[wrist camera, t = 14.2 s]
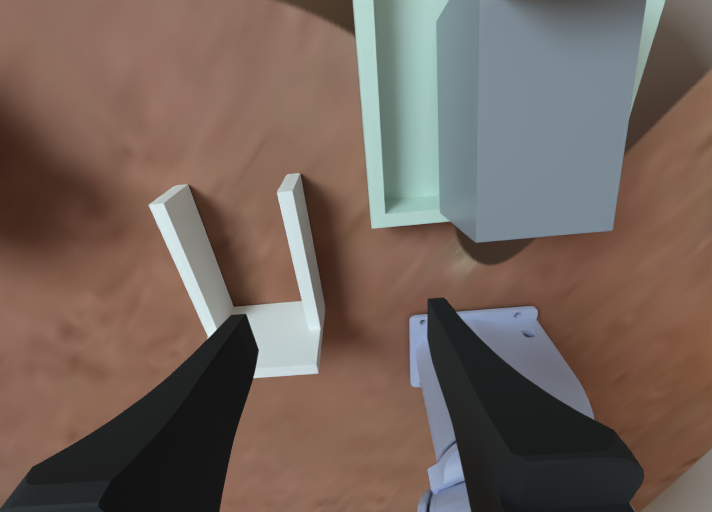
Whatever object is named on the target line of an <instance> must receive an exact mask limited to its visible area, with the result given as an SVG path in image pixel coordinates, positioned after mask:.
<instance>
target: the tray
mask: <svg viewBox="0 0 712 512" xmlns="http://www.w3.org/2000/svg"><path fill="white" fill-rule="evenodd" d="M448 1H449V0H353V11H354V23H355V35H356V47H357V60H358V72H359V84H360V96H361V109H362V121H363V133H364V145H365V158H366V170H367V182H368V195H369V207H370V217H371V226H372V228H383V227H394V226H405V225H416V224H427V223H438V222H449V220H448V219H447V218H446V217H444V216H443V215H442V214H441V213H440V199H439V145H438V90H437V36H436V21H437V19H438V18H439V16H440V14H441V13H442V11H443V9H444V8H445V6H446V4H447V3H448ZM664 3H665V0H646V7H645V13H644V20H643V27H642V34H641V41H640V47H639V54H638V61H637V68H636V75H635V81H634V88H633V95H632V102H631V109H630V113H631V110H632V107H633V104H634V100H635V97H636V94H637V90H638V87H639V84H640V81H641V78H642V75H643V71H644V68H645V65H646V62H647V58H648V55H649V52H650V49H651V45H652V42H653V38H654V36H655V32H656V29H657V26H658V23H659V19H660V16H661V13H662V10H663V6H664ZM629 117H630V115H629Z"/></svg>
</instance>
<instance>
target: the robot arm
mask: <svg viewBox="0 0 712 512" xmlns="http://www.w3.org/2000/svg"><path fill="white" fill-rule="evenodd" d="M516 313H517V314H516ZM537 316H538V311H537V309H536V308H535V307H534V306H523V307H511V308H498V309H485V310H473V311H460V312H456V311H455V310H454V309H453V308H452V306H451V305H450V304H449V303H448V301H447V300H446V299H445V298H433V299H428V313H427V314H422V315H414V316H412V317H410V319H409V340H410V382H411V385H412V386H413V387H422V392H423V397H424V402H425V406H426V411H427V416H428V421H429V426H430V431H431V435H432V440H433V445H434V450H435V455H436V460H437V464H435V465H434V466H432V467H430V468H428V475H429V480H430V486H431V489H428V490H426V491H425V492H424V493H423V494H422V496H421V498H420V500H419V504H418V509H417V512H636V511H635V510H634V508H633V507H632V505H631V504H630V500H631V499H632V497H633V496H634V494H635V493H636V492H637V490H638V489H639V487H640V486H641V484H642V481H643V479H644V471H643V468H642V467H641V465H640V464H639V462H638V461H637V460H636V458H635V457H634V455H633V454H632V452H631V451H630V450H629V448H628V447H627V446H626V444H625V443H624V442H623V441H622V440H621V438H620V437H619V436H618V435H617V433H616V432H615V431H614V430H612V429H611V428H609V427H607V426H605V425H603V424H601V423H599V422H597V421H595V419H594V415H593V411H592V408H591V405H590V403H589V400H588V398H587V395H586V393H585V391H584V389H583V387H582V385H581V383H580V382H579V380H578V379H577V377H576V376H575V374H574V373H573V371H572V370H571V368H570V367H569V366H568V364H567V363H566V361H565V360H564V358H563V357H562V355H561V354H560V353H559V351H558V350H557V348H556V347H555V345H554V344H553V343H552V341H551V340H550V338H549V337H548V335H547V334H546V332H545V331H544V330H543V328H542V327H541V325H540V324H539V322H538V321H537ZM421 320H425V321H423V322H421ZM258 353H259V349H258V346H257V343H256V340H255V337H254V335H253V332H252V329H251V326H250V323H249V320H248V318H247V315H246V314H236V315H231V316H230V317H229V318H227V319H226V320H225V321H224V323H223V324H222V325H221V326H220V327H219V328H218V329H217V330H216V331H215V332H214V333H213V334H212V335H211V336H210V337H209V338H208V339H207V340H206V341H205V342H204V343H203V344H202V345H201V346H200V347H199V348H198V349H197V350H196V351H195V352H194V353H193V354H192V355H191V356H190V357H189V358H188V359H187V360H186V361H185V362H184V363H183V364H182V365H181V366H179V367H178V368H177V369H176V370H175V371H174V372H173V373H172V374H171V375H170V376H169V377H167V378H166V379H165V380H164V381H163V382H162V383H160V384H159V385H158V386H157V387H155V388H154V389H153V390H152V391H151V392H149V393H148V394H147V395H145V396H144V397H143V398H142V399H140V400H139V401H137V402H136V403H135V404H133V405H132V406H131V407H129V408H128V409H126V410H125V411H124V412H122V413H121V414H119V415H118V416H117V417H115V418H114V419H112V420H111V421H109V422H108V423H106V424H105V425H103V426H102V427H100V428H99V429H97V430H95V431H94V432H92V433H91V434H89V435H87V436H86V437H84V438H83V439H81V440H79V441H78V442H76V443H74V444H73V445H71V446H69V447H67V448H66V449H64V450H62V451H60V452H59V453H57V454H55V455H53V456H52V457H50V458H48V459H46V460H44V461H43V462H41V463H39V464H37V465H35V466H33V467H32V468H31V470H30V471H29V472H28V473H27V475H26V476H25V477H24V479H23V480H22V481H21V482H20V484H19V485H18V486H17V488H16V489H15V490H14V491H13V493H12V494H11V495H10V497H9V498H8V499H7V500H6V502H5V503H4V504H3V506H2V507H1V508H0V512H219V510H220V504H221V498H222V493H223V488H224V483H225V478H226V473H227V468H228V463H229V458H230V454H231V449H232V445H233V441H234V437H235V433H236V430H237V427H238V424H239V421H240V417H241V414H242V411H243V408H244V405H245V402H246V399H247V396H248V393H249V390H250V387H251V384H252V381H253V377H254V374H255V369H256V364H257V358H258Z"/></svg>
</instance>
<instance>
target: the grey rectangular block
mask: <svg viewBox="0 0 712 512" xmlns="http://www.w3.org/2000/svg"><path fill="white" fill-rule="evenodd" d="M645 7H646V0H449V1H448V3H447V4H446V6H445V8H444V9H443V11H442V13H441V14H440V16H439V18H438V19H437V21H436V36H437V90H438V145H439V199H440V213H441V214H442V215H443V216H444V217H446V218H447V219H448V220H449V221H450V222H452V223H453V224H454V225H455V226H456V227H458V228H459V229H460V230H461V231H462V232H464V233H465V234H466V235H467V236H469V237H470V238H471V239H472V240H473V241H475V242H488V241H500V240H510V239H523V238H534V237H545V236H557V235H568V234H580V233H591V232H602V231H613V224H614V217H615V211H616V204H617V197H618V190H619V183H620V177H621V170H622V163H623V156H624V149H625V143H626V135H627V129H628V122H629V115H630V109H631V102H632V95H633V88H634V81H635V75H636V68H637V61H638V54H639V47H640V41H641V34H642V27H643V20H644V13H645Z"/></svg>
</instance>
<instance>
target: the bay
mask: <svg viewBox="0 0 712 512" xmlns="http://www.w3.org/2000/svg"><path fill="white" fill-rule="evenodd" d="M277 195H278V199H279V203H280V208H281V212H282V216H283V221H284V225H285V229H286V234H287V238H288V242H289V247H290V251H291V255H292V260H293V264H294V268H295V273H296V277H297V281H298V286H299V290H300V294H301V299H302V301H298V302H285V303H273V304H261V305H249V306H237V307H234V306H233V304H232V301H231V298H230V296H229V293H228V290H227V288H226V285H225V282H224V280H223V277H222V274H221V272H220V269H219V266H218V264H217V261H216V258H215V255H214V253H213V250H212V247H211V245H210V242H209V239H208V237H207V234H206V231H205V229H204V226H203V223H202V221H201V218H200V215H199V212H198V210H197V207H196V204H195V202H194V199H193V196H192V194H191V191H190V188H189V186H188V184H185V185H175V186H174V187H172V188H171V189H170V190H168V191H167V192H165V193H164V194H163V195H161V196H160V197H159V198H157V199H156V200H155V201H153V202H152V203H150V204H149V207H150V209H151V211H152V213H153V216H154V218H155V220H156V222H157V224H158V227H159V229H160V231H161V233H162V236H163V238H164V240H165V242H166V244H167V247H168V249H169V251H170V253H171V256H172V258H173V260H174V262H175V264H176V267H177V269H178V271H179V273H180V275H181V278H182V280H183V282H184V284H185V287H186V289H187V291H188V293H189V295H190V298H191V300H192V302H193V304H194V307H195V309H196V311H197V313H198V315H199V318H200V320H201V322H202V324H203V326H204V329H205V331H206V333H207V335H208V338H209V337H210V336H211V335H212V334H213V333H214V332H215V331H216V330H217V329H218V328H219V327H220V326H221V325H222V324H223V323H224V321H225V320H226V319H227V318H229V317H230V316H231V315H236V314H246V315H247V318H248V320H249V323H250V326H251V329H252V332H253V335H254V337H255V340H256V343H257V346H258V349H259V353H258V358H257V364H256V369H255V374H254V377H253V378H261V377H275V376H289V375H303V374H317V373H318V372H319V363H320V354H321V344H322V335H323V326H324V317H325V303H324V297H323V292H322V286H321V281H320V276H319V270H318V265H317V260H316V254H315V249H314V244H313V238H312V233H311V228H310V222H309V217H308V212H307V206H306V201H305V196H304V190H303V185H302V180H301V174H300V173H296V174H287V175H286V177H285V179H284V181H283V182H282V184H281V186H280V188H279V190H278V191H277ZM208 338H207V339H208Z"/></svg>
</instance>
